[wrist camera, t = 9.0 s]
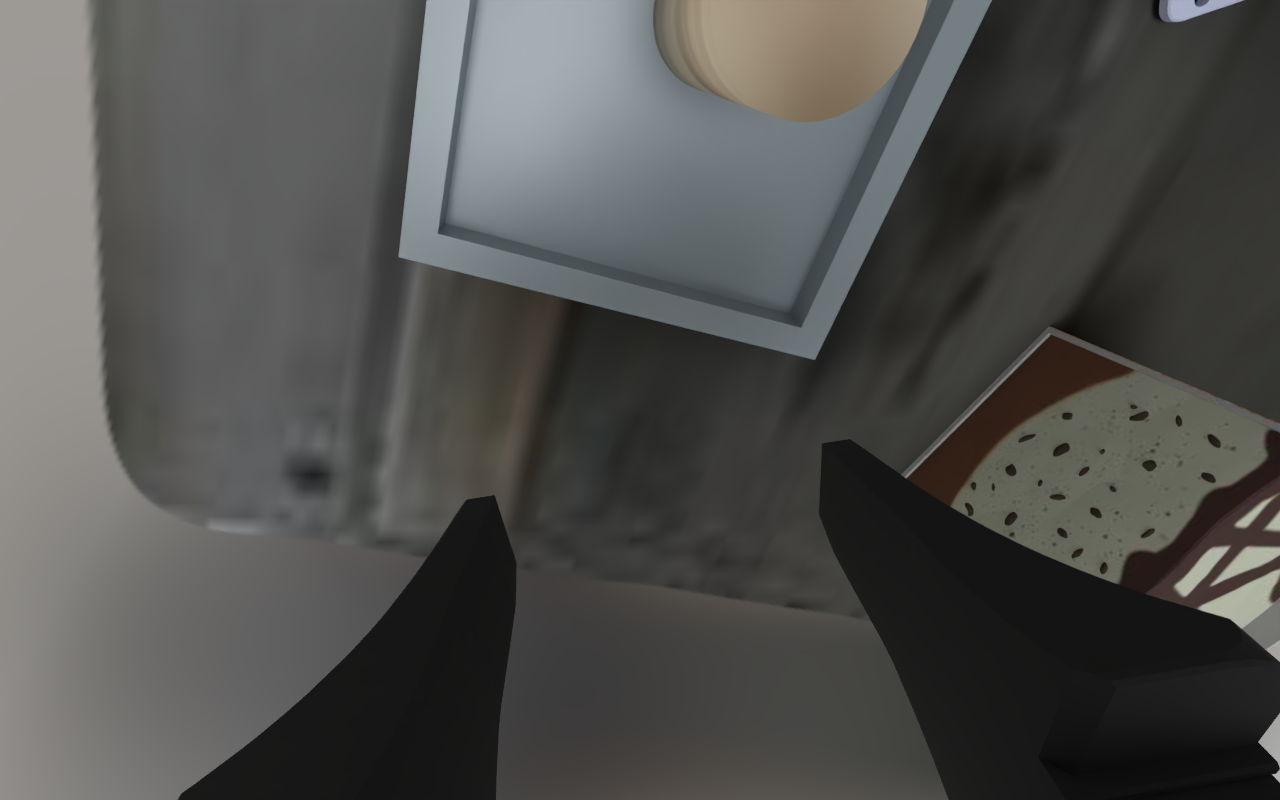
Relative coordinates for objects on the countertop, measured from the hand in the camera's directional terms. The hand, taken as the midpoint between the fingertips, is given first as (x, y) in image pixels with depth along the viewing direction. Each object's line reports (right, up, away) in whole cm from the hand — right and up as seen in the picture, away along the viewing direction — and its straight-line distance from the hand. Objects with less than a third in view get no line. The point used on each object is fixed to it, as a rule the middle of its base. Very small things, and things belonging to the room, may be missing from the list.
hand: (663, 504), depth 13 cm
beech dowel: (+2, +13, +3) cm, 13 cm away
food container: (+16, 0, +13) cm, 20 cm away
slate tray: (+1, +12, +5) cm, 13 cm away
